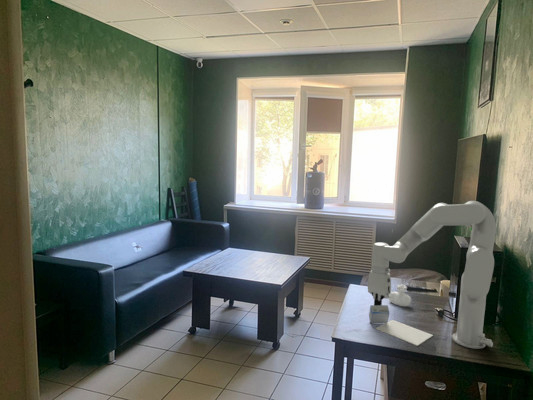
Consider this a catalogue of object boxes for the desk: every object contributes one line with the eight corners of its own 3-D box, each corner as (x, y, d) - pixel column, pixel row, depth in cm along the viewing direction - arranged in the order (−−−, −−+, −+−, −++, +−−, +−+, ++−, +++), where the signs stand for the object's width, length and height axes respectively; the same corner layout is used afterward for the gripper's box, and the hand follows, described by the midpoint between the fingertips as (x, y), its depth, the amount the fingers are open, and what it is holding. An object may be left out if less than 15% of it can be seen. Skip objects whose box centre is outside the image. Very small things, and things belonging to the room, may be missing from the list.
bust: (410, 311, 196) (416, 291, 200) (407, 305, 191) (413, 285, 195) (388, 304, 204) (394, 285, 208) (384, 299, 199) (391, 279, 203)
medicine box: (385, 315, 178) (388, 304, 172) (387, 323, 174) (389, 313, 169) (368, 315, 178) (370, 304, 173) (369, 323, 175) (371, 313, 169)
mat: (432, 336, 164) (433, 335, 164) (417, 346, 155) (417, 345, 155) (392, 320, 179) (392, 319, 179) (375, 328, 170) (375, 328, 170)
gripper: (399, 271, 171) (396, 310, 173) (370, 264, 182) (368, 300, 185) (390, 275, 166) (387, 314, 169) (361, 267, 178) (359, 304, 180)
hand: (377, 307), depth 177 cm, fingers closed
